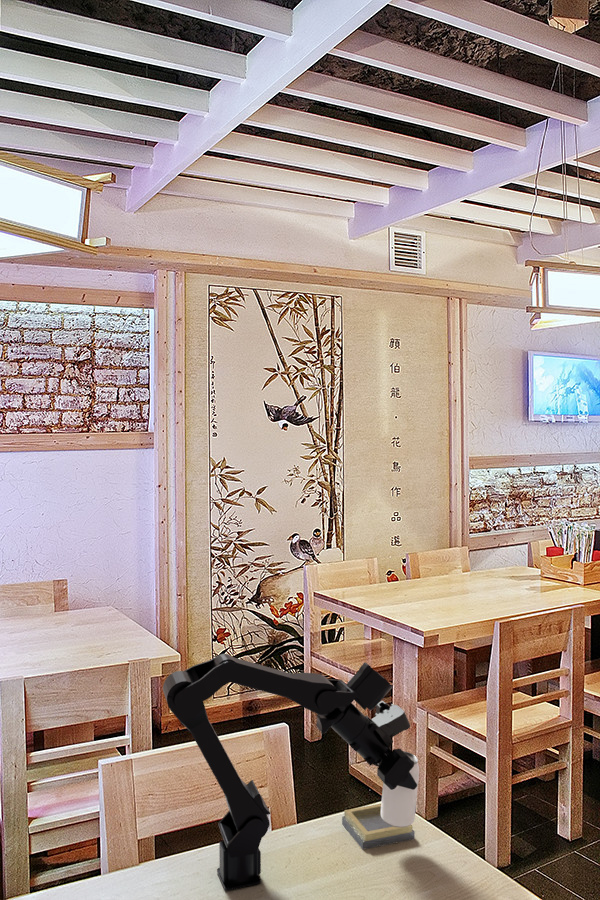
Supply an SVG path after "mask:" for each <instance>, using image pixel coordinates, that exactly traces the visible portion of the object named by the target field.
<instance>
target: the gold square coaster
mask: <svg viewBox="0 0 600 900" xmlns="http://www.w3.org/2000/svg"><path fill="white" fill-rule="evenodd" d="M341 818H342V819H341V825H343V827H344V828H345V830H346V831H347V832H348V833H349V835H350V836H351V837H352V838H353V839H354V841H355V842H356V843H357V844H358V846H359V847H360V849H362V850H366V849H372V848H377V847H381V846H382V847H383V846H389V845H392V844H396V842H398V843H401V842H402V841H403V842H407V841H411V840H415V833H416V832H415V830H414V829H413V825H412V824H411V825H410V826H408V827H394V826H391V825H389V824H387V823H386V822H384V821H383V819H382V818H381V803H377V804H371V805H366V806H361V807H355V808H351V809H350V808H349V809H344V814H343V816H341Z"/></svg>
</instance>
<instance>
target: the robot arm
mask: <svg viewBox="0 0 600 900" xmlns="http://www.w3.org/2000/svg"><path fill="white" fill-rule="evenodd" d="M229 683H232V684H235V685H239V686H242V687H243V686H244V687H247V688H250V689H254V690H257V691H261V692H264V693H268V694H271V695H276V696H279V697H282V698H287V699H289V700H291V701H293V702H295V704H297V705H299V706H301V707H302V708H304V709H306V710H308V711H310V712H312V713H314V714H316V725H315V726H316V728H317V729H318V731H320V733H321V734H322V735H324V734H325V735H326V733H327V732H328V731H329V730H330V729H331V728H332V730H333V731H334V732H335V733H337V734H338V736H340V738H341V739H343V741H345V742H346V743H347V744H348V746H350V748H351V749H352V750H354V752H355V753H357V754H358V755H359V756H361V757H362V759H364V761H365V762H366V763H367V764H368V765H369V766H370V767H371V766H372V765H373V766H376V767H377V769H376V770H377V772H376V773H377V774H376V775H377V777H378V778H379V779H380V780H381V782H382V783H383V782H384V784H386V785H387V786H388V787H389V788H390V789H391V790H393V789H395V788H396V787H397V786H401V787H405V788H409V789H413V790H414V789H415V788H416V787H417V783H416V782H415V780H414V779H413V777H412V775H411V774H410V772H409V771H410V770H411V769H412V768H413V767H414V762H413V761H412V760H411V759H410V758H409V757H408V756H407V755H406V754H405V753H404V752H403V751H404V750H402V749H401V748H393V749H391V748H390V746H391V745H392V744H393V743H394V741H393V739H392V738H394V737H396V736H397V735H399V734H401V733H402V732H404V731H407V730H409V729H410V727H411V723H410V721H409V718H408V717H407V714H406V712H405V710H404V709H403V708H402V707H400V706H399V705H398V704H393V703H391V704H390V705H389V704H388V703H387V702H385V701H384V700H383V699H384V698H385V697H386V696H387V694H388V693H389V692H390V691H391V689H393V685H392V684H391V683H390V682H389V681H388V680H387V679H386V678H385V677H384V676H383V675H381V674H380V673H379V672H378V671H376V670H375V669H374V668H373V667H372V666H370V665H369V664H368V663H367V662H363V663H362V664H361V666H360V667H359V669H358V670H357V672H355V674H354V675H353V676H352V677H351V678H350V680H349V681H348V682H347V683H346V681H344V680H343V679H332V678H327V677H326V676H324V675H323V674H321V673H312V672H295V673H293V672H286V671H283V670H280V669H276V668H272V667H269V666H266V665H262V664H259V663H255V662H251V661H248V660H244V659H242V658H238V657H237V658H236V657H234V656H233V655H230V654H228V653H221V654H219V655H217V656H215V657H214V658H211V659H209V660H205V661H204V662H203V661H202V662H201V663H197V664H194V665H192V666H190V667H188V668H187V669H184V670H179V671H178V670H176V671H174V672H171V673H170V674H169V675H167V677H166V678H165V680H164V682H163V685H162V692H163V696H164V698H165V700H166V703H167V707H168V709H169V710H170V711H171V712H172V714H173V715H174V717H176V718H177V720H178V721H179V722H180V724H181V725H183V726H184V728H185V729H187V730H188V731H189V733H190V735H192V738H193V739H194V741H195V743H196V745H197V747H198V748H199V750H200V752H201V754H202V756H203V757H204V759H205V761H206V763H207V765H208V767H209V769H210V770H211V772H212V774H213V776H214V777H215V779H216V781H217V782H218V783H217V784H218V785H219V786H220V789H221V790H222V792H223V794H224V795H223V796H224V798H225V801H226V804H227V805H226V806H227V808H228V811H227V812H226V813H225V814H224V816H223V817H222V818H221V819H219V821H218V823H217V825H218V827H219V830H220V834H221V837H222V839H223V840H221V841H219V867H218V868H216V872H217V875H218V877H219V880H220V882H221V885H222V887H223V889H224V891H227V892H228V891H231V890H237V889H242V888H246V887H247V888H248V887H251V886H257V885H260V884H261V883H262V879H261V877H260V875H261V873H262V870H261V869H262V866H261V865H262V859H261V858H262V852H261V849H260V844H261V841H262V838H263V837H264V836H266V834H267V833H268V830H269V827H270V825H271V824H270V819H269V817H268V815H270V814H271V811H270V809H269V808H268V806H267V804H266V802H265V800H264V798H263V797H262V795H261V793H260V791H259V790H258V788H257V786H256V783H255V782H254V780H253V779H251V780H250V781H249V782H248V783H247V784H246V783H245V781H243V780H242V778H241V777H240V775H239V774H238V771H237V769H236V768H235V766H234V764H233V762H232V760H231V758H230V756H229V755H228V753H227V751H226V750H225V747H224V745H223V744H222V742H221V740H220V738H219V736H218V734H217V733H216V730H215V729H214V726H213V725H212V723H211V722H210V720H209V716H208V713H207V709H206V707H205V703H204V702H205V701H207V700H209V699H210V698H211V697H212V696H213V695H215V694H216V693H217V692H218V691H219V690H221V688H223V687H224V686H226V685H228V684H229ZM353 702H355V703H357V704H358V705H359V707H360V708H362V709H363V711H366V710H367V709H368V711H370V712H371V711H372V710H374V709H375V708H376V709H375V713H374V715H375V716H374V717H373V718H370V717H369V716H368V715H367V714H366V715H365V714H364V713H363V712H362V711H361V710H360V709H359V708H357V706H356V705H354V703H353Z"/></svg>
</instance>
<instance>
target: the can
mask: <svg viewBox="0 0 600 900" xmlns="http://www.w3.org/2000/svg"><path fill="white" fill-rule="evenodd" d="M402 751H403V752H404V753H405V754H406V755H407V756H408V757H409V758H410V759H411V760H412V761H413V762H414V767H413V768H412V769H411V770H410V771H409V772H410V774H411V775H412V777H413V779H414V780H415V782H416V783H417V787H416V788H415V789H414V790H413V789H409V788H405V787H401V786H397V787H396V788H395V789H393V790H391V789H390V788H389V787H388V786H387V785H386V784H384V782H383V781H382V792H381V793H382V795H381V803H380V804H381V818H382V819H383V821H384V822H386V823H387V824H389V825H391V826H394V827H408V826H410V825H412V824H413V823H414V822H415V819H416V809H417V798H418V789H419V780H420V779H419V778H420V765H419V763H418V762H419V759H418V757H417V756H416V755H415V754H413V753H412V752H409V751H406V750H405V751H404V750H402Z"/></svg>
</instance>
